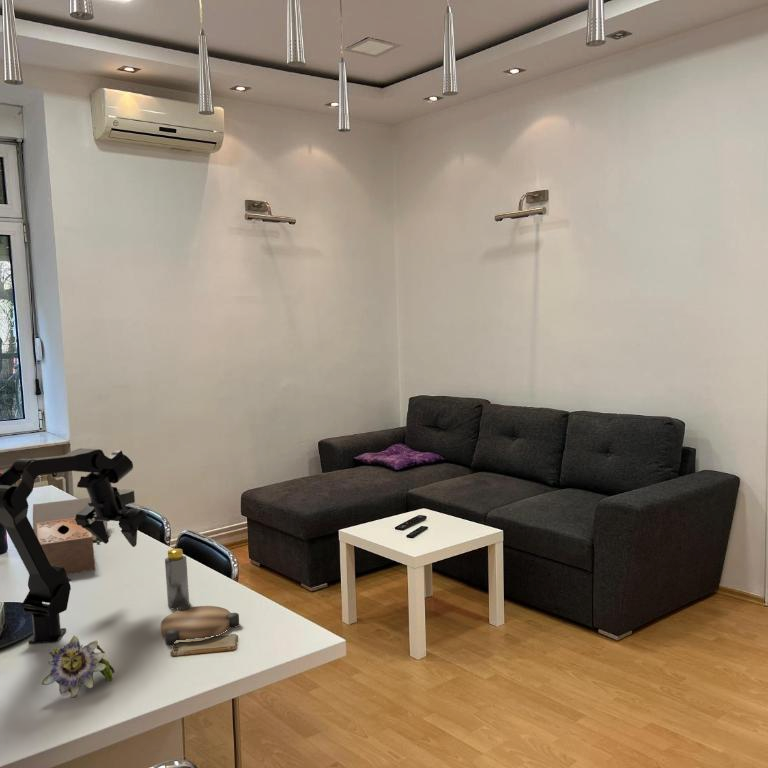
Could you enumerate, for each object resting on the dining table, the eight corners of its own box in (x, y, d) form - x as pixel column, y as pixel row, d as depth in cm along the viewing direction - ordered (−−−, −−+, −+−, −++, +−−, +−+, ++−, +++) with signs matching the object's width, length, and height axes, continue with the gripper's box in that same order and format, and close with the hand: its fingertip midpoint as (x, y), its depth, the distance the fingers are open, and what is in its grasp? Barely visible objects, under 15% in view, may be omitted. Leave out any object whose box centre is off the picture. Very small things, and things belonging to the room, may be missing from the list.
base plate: (234, 640, 173) (234, 630, 173) (153, 646, 172) (153, 635, 172) (243, 610, 191) (242, 600, 190) (169, 614, 189) (169, 605, 189)
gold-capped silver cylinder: (187, 608, 193) (183, 553, 192) (166, 609, 193) (162, 554, 191) (191, 600, 198) (187, 547, 197) (170, 601, 198) (166, 548, 197)
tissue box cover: (39, 554, 242) (36, 522, 241) (88, 546, 248) (85, 516, 247) (40, 579, 219) (37, 545, 218) (95, 570, 225) (92, 536, 224)
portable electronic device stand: (34, 567, 247) (32, 546, 243) (34, 520, 265) (32, 499, 260) (111, 556, 256) (109, 535, 251) (106, 511, 274) (104, 490, 269)
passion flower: (77, 721, 152) (34, 687, 147) (74, 687, 161) (34, 654, 156) (125, 682, 154) (84, 647, 148) (119, 651, 163) (81, 616, 158)
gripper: (150, 478, 197) (168, 528, 203) (94, 474, 204) (113, 523, 211) (122, 503, 188) (141, 555, 194) (64, 498, 195) (85, 548, 202)
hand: (120, 544), depth 200 cm, fingers open, 9 cm apart
